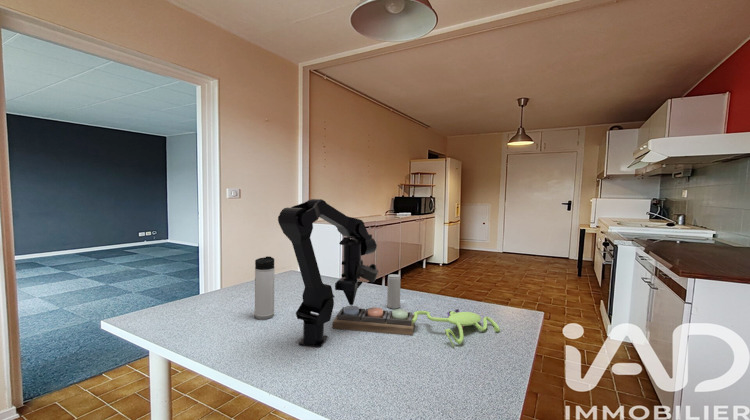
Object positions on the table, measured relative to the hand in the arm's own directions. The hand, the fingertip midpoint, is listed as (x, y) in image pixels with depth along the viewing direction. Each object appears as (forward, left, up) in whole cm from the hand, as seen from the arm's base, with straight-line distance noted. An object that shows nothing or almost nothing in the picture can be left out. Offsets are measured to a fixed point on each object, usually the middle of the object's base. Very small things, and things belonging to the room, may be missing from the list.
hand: (351, 304), depth 107 cm
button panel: (0, -8, -6) cm, 10 cm away
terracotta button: (0, -8, -4) cm, 9 cm away
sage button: (0, -16, -4) cm, 16 cm away
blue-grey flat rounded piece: (0, 0, -4) cm, 4 cm away
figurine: (+1, -33, -6) cm, 34 cm away
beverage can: (+18, -12, -6) cm, 22 cm away
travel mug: (-1, +30, -6) cm, 31 cm away
